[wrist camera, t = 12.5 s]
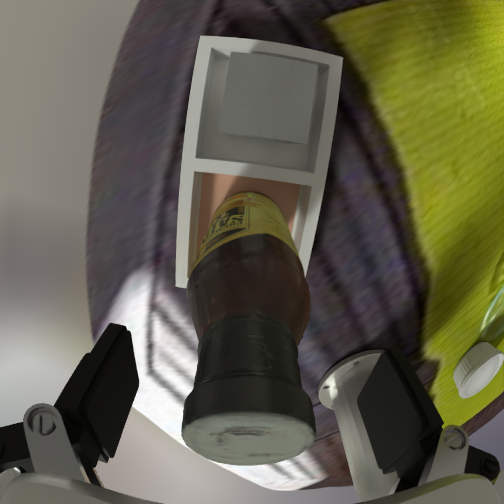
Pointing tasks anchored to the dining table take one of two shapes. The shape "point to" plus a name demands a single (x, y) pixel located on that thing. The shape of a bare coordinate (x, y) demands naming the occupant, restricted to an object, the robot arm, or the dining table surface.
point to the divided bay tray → (251, 151)
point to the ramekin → (477, 368)
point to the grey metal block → (268, 98)
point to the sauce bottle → (248, 338)
